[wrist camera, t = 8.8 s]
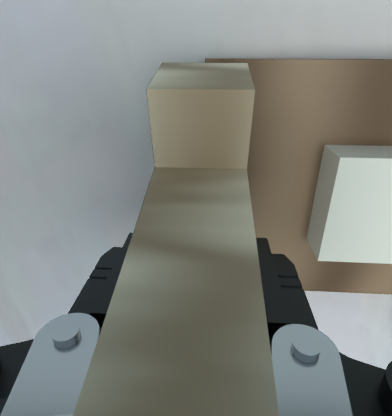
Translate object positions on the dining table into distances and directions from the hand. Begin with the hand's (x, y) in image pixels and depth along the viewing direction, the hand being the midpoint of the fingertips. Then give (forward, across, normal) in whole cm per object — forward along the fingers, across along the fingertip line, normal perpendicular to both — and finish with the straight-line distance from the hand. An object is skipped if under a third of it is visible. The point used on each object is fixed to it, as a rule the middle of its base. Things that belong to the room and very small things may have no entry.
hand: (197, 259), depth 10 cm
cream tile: (+6, -8, 0) cm, 10 cm away
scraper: (+4, 0, -2) cm, 5 cm away
